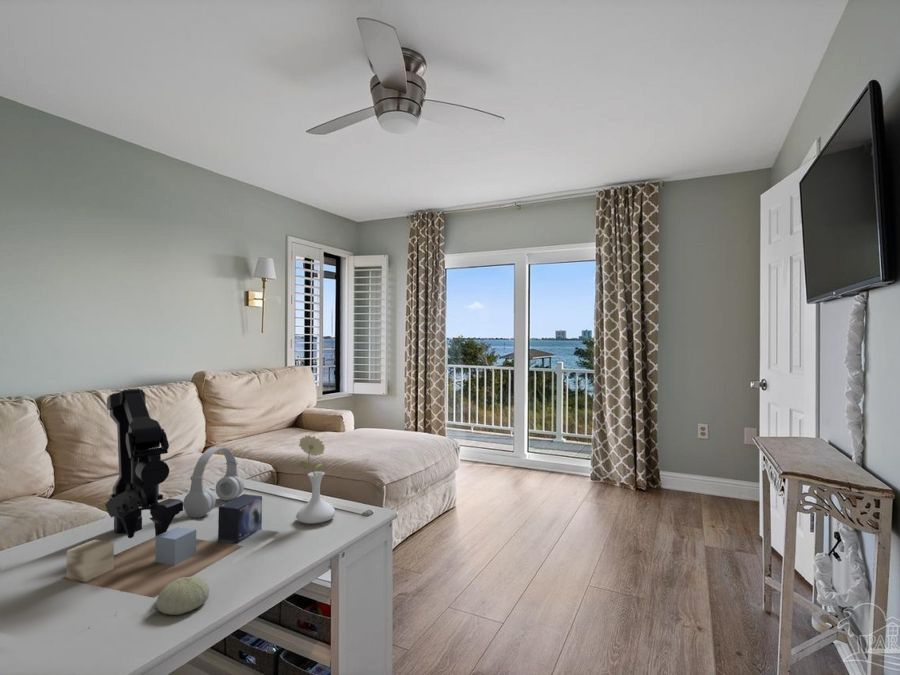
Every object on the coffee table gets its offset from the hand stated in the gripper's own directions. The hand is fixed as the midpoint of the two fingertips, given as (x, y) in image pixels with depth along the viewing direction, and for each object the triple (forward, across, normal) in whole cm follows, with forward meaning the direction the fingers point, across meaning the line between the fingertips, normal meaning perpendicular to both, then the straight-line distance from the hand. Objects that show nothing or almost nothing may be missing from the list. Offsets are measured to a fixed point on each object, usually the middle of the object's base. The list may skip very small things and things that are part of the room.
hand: (144, 539), depth 114 cm
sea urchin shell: (+5, +27, -14) cm, 31 cm away
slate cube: (0, +7, 0) cm, 7 cm away
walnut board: (+4, +8, -2) cm, 9 cm away
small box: (+5, +15, +16) cm, 22 cm away
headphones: (+5, -11, +34) cm, 36 cm away
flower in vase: (+4, +26, +34) cm, 43 cm away
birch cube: (+3, -2, -12) cm, 12 cm away
